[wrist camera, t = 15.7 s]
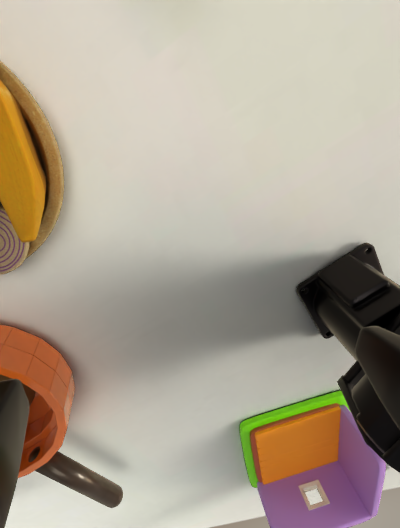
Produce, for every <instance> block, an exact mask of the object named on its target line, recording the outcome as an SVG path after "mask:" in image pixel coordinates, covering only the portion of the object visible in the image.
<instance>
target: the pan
mask: <svg viewBox="0 0 400 528" xmlns="http://www.w3.org/2000/svg"><path fill="white" fill-rule="evenodd" d="M0 375H3V376H6V377H9V378H12V379H19V380H20V381H21V382H22V383H23V384H25V385H26V386H28V387H29V388H31V389H32V390H34V391H35V392H36V393H35V397H34V399H33V401H32V403H31V405H30V407H29V417H28V422H27V428H26V434H25V440H24V446H23V452H22V457H21V463H20V469H19V474H18V478H20V477H23V476H25V475H27V474H30V473H31V472H33V471H34V470H36V469H37V468H39V467H41V466H42V465H44V464H46V463H47V462H48V461H49V460H50V459H51V458H52V457H53V455H54V454H55V453H56V452H57V451H58V450H59V448H60V447H61V446H62V443H63V440H64V437H65V434H66V430H67V426H68V421H69V416H70V411H71V406H72V401H73V396H74V390H75V386H74V380H73V374H72V371H71V369H70V367H69V366H68V364H67V363H66V361H65V360H64V358H63V357H62V355H61V354H60V352H58V351H57V350H56V349H54V348H53V347H52V346H50V345H49V344H48V343H46V342H45V341H44V340H43V339H41V338H39V337H37V336H34V335H32V334H30V333H27V332H25V331H22V330H20V329H17V328H15V327H12V326H5V325H0ZM38 446H39V447H40V452H39V454H38V456H37V457H36V459H35V460H34V461H32V462H29V461H28V458H29V455H30V453H31V452H32V450H33V449H34V448H36V447H38Z"/></svg>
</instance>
